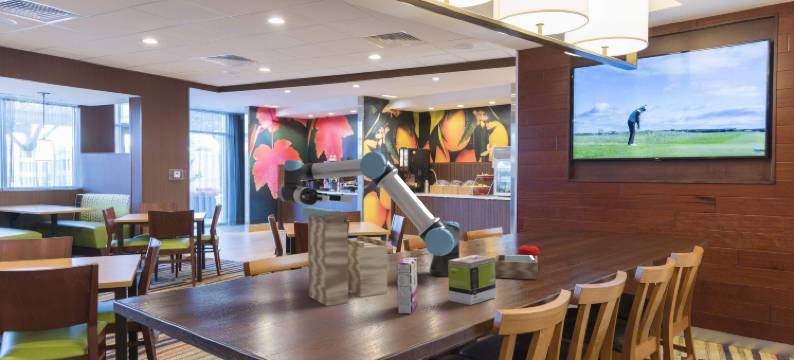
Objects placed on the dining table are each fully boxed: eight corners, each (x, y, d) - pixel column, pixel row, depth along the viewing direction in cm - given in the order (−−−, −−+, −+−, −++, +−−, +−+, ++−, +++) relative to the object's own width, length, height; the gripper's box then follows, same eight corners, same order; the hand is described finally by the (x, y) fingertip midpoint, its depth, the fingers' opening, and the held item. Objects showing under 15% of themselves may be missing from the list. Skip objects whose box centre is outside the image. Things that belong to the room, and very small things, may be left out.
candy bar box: (403, 305, 183) (403, 257, 183) (417, 305, 182) (417, 257, 182) (396, 313, 172) (396, 262, 172) (412, 314, 171) (411, 263, 171)
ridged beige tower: (387, 293, 200) (386, 241, 200) (360, 297, 195) (360, 243, 194) (361, 283, 219) (360, 235, 219) (336, 286, 214) (335, 237, 213)
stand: (348, 302, 186) (347, 213, 186) (326, 306, 182) (325, 214, 182) (329, 293, 201) (328, 210, 200) (308, 296, 197) (308, 211, 196)
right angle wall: (504, 271, 243) (504, 254, 243) (531, 272, 241) (531, 255, 241) (506, 276, 231) (506, 259, 231) (534, 277, 229) (534, 259, 229)
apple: (518, 268, 249) (518, 245, 249) (517, 264, 259) (517, 242, 259) (540, 269, 248) (540, 245, 247) (538, 265, 257) (538, 242, 257)
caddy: (537, 271, 242) (537, 255, 241) (537, 279, 224) (537, 262, 224) (496, 269, 246) (496, 254, 246) (493, 277, 229) (493, 261, 229)
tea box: (474, 293, 199) (473, 254, 199) (496, 298, 192) (496, 257, 192) (447, 300, 189) (447, 258, 188) (470, 305, 181) (470, 262, 181)
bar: (340, 222, 186) (340, 210, 186) (329, 223, 184) (329, 211, 184) (312, 216, 209) (312, 206, 209) (302, 217, 207) (302, 207, 207)
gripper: (326, 204, 245) (360, 208, 231) (283, 204, 225) (317, 208, 212) (327, 188, 245) (361, 191, 231) (284, 186, 225) (318, 189, 212)
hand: (340, 199), depth 222 cm, fingers open, 13 cm apart
